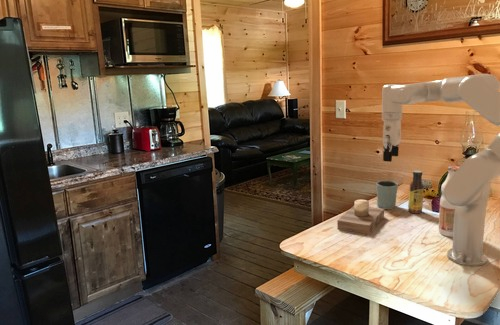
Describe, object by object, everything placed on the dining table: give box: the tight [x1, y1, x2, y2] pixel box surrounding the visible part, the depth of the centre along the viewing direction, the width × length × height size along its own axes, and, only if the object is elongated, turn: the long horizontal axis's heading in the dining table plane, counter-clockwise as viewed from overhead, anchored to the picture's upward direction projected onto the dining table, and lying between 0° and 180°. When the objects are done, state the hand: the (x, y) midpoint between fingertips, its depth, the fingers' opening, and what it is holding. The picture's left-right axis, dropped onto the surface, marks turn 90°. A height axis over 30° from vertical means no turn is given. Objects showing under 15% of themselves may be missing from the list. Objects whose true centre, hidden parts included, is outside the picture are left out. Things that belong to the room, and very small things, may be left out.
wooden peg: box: [353, 199, 370, 217], centre depth 179 cm, size 6×6×10 cm
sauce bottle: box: [407, 170, 425, 214], centre depth 187 cm, size 7×6×20 cm
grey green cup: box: [376, 180, 399, 210], centre depth 198 cm, size 10×10×12 cm
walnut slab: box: [336, 205, 385, 235], centre depth 180 cm, size 22×14×4 cm, turn 146°
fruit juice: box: [438, 165, 460, 238], centre depth 161 cm, size 9×9×28 cm
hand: (390, 158), depth 160 cm, fingers open, 9 cm apart
